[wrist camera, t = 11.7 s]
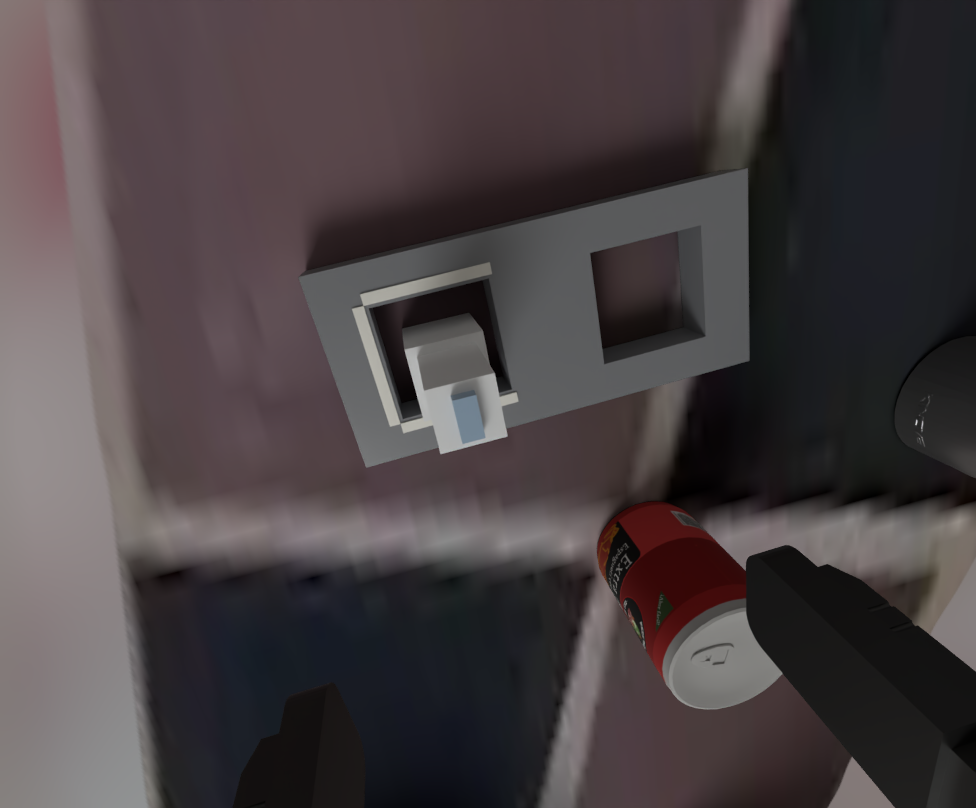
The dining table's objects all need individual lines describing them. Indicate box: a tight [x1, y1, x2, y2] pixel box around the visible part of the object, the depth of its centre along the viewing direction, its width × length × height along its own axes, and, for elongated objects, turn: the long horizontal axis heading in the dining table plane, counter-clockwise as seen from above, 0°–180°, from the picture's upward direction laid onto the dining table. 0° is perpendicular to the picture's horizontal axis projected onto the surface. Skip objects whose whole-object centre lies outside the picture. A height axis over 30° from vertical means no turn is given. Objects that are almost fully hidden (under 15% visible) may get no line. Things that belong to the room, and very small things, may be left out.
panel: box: [298, 168, 749, 468], centre depth 29 cm, size 24×11×3 cm, turn 102°
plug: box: [402, 313, 507, 454], centre depth 26 cm, size 4×4×10 cm
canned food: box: [597, 501, 783, 709], centre depth 34 cm, size 8×8×11 cm
